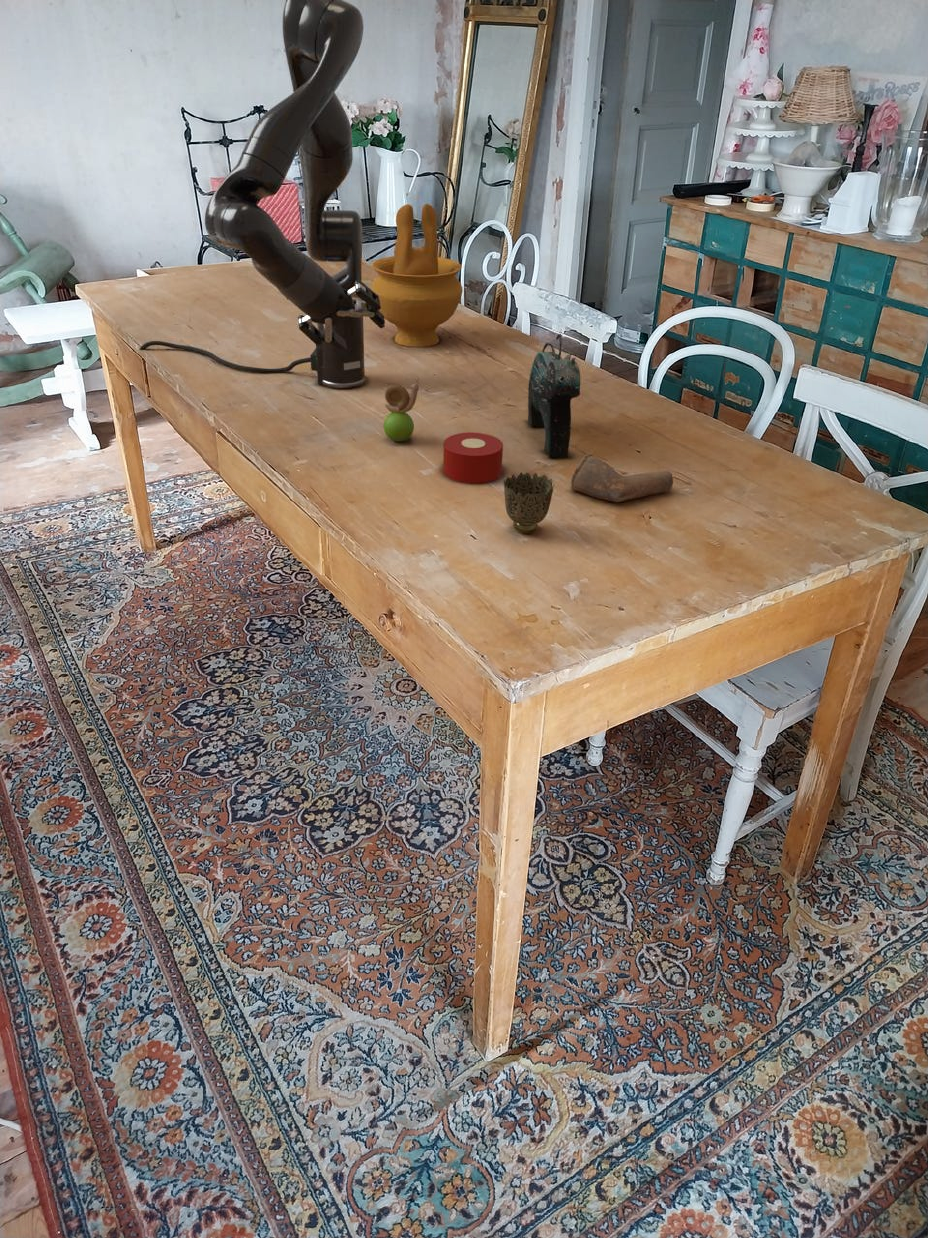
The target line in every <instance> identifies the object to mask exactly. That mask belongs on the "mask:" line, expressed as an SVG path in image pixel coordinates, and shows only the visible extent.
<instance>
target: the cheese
mask: <svg viewBox="0 0 928 1238" xmlns="http://www.w3.org/2000/svg"><path fill="white" fill-rule="evenodd" d="M503 452H504V444H503V441H502V440H501V439H499V437H496V436H494V435H491V434H488V433H483V432H469V431H468V432H459V433H455V434H452V435H450V436H448V437H446V438H445V439H444V441H443V454H442V455H443V457H442V458H443V460H442V462H443V463H442V473H443V474H444V475H445V477H447V478H449V479H451V480H453V481H456V482H460V483H465V484H485V483H491V482H493V481H495V480H497V479H499V478H500V477H501V475H502V471H503V469H502V468H503V454H504V453H503Z"/></svg>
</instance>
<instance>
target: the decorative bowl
mask: <svg viewBox="0 0 928 1238" xmlns="http://www.w3.org/2000/svg"><path fill="white" fill-rule="evenodd" d="M414 215H415V214H414V208H413V206H412V205H411V204H407V203H406V204H404V205H402V206H401V207H400V208H399V209H397V212H396V215H395V225H396V230H397V231H396V232H397V237H396V241H395V245H394V249H393V254H394V255H393V256H386V257H382V258H379V259H375V261H373V262H371V267H372V268H373V270H374V271H375V272H376V273H377V276H376V277H375V278H374V279H373V280H372V281H373V283H372V285H371V290H372V291H373V292H374V293H376V294H377V295H378V296H379V300H380V306H381V309H380V310H379V311H380V312H381V313H382V314H383V315H384V319H385V321H387V322H389V324H392V325H394V326H395V327H396V328H397V333H396V335H395V337H394V342H395V343H396V344H399V345H400V346H406V347H413V348H414V347H416V348H419V347H421V348H422V347H430V346H434V345H436V344H438V343H439V342H440V338H439V336H438V334H437V332H436V331H437V328H438V327H439V326H440V325H443V324H444V323H446V322H448V321H449V320H450V319H451V317H452V316H453V315H454V314H455V312H456V310H457V308H458V307H459V304H460V301H461V300H462V295H463V286H462V284H461V282H460V281H459V279H458V278H457V276H456V275H457V274H458V273H459V272H460V270H461V269H462V268H463V266H462V264H461V263H460V262H458V261H456V260H453V259H450V258H446V257H442V256H438V249H439V242H438V217H437V212H436V210H435V208H434V207H433V206H432V205H431V204H429V203H424V204H423V206H422V207H421V214H420V215H421V230H422V233H423V237H424V244H423V245H422V246H420V247H417V246H413V236H414V224H415V223H414V219H415V217H414Z"/></svg>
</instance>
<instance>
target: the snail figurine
mask: <svg viewBox="0 0 928 1238" xmlns="http://www.w3.org/2000/svg"><path fill="white" fill-rule="evenodd" d="M419 380H420V377H419V376H416V378H415V382H419ZM410 390H411V391H410V393H409V391H408V390H407V388H406V387H404V385H402V384H397V383H395V384H391V385H389V386H388V387H386V389H385V391H384V398H385V401H386V403H387V404H384V407H385V408H386V409H387V410H388V412H390V413H388V414H387V415H386V417H385V419H384V421H383V431H384V433H385V435H386V437H388V439H390V440H391V441H394V442H404V441H406V440H408V439H409V438H410V437H411V436H412V434H413V432H414V430H415V429H414V428H415V425H414V424H415V423H414V420H413V418H412V417H411V415H410V414H408V413H407V412H410V411H412V410H413V408H414V406H415V404H416V401H417V397H418V393H419V391H420V386H419V383H413V384H411V385H410Z"/></svg>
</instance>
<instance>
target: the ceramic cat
mask: <svg viewBox="0 0 928 1238" xmlns="http://www.w3.org/2000/svg"><path fill="white" fill-rule="evenodd" d="M555 338H556V340H558V339H559V350H558V353H556V350H555V348H554V346H553V344H552V343H551V342H546V343H544V346H543V348H542V351H539V352H537V354H536V355H535V357H534V359H533V362H532V366H531V368H530V369H531V370H530V374H529V380H528V387H527V391H528V392H527V421H528V425H529V426H530V427H531V428H544V435H545V436H544V452H545V453H546V454H547V456H548V458H550V459H559V458H568V456H569V448H570V441H571V435H572V433H571V432H572V431H571V429H572V428H571V426H572V409H571V407H572V406H571V405H572V404H571V402H572V400H573V399H574V398H578V397H579V396H580V395H581V371H580V367H579V364H578V362H577V361H576V357H573V358H571V356H572V352H570V353H568V354H567V355H566V356H565V357H564V358H562V355H561V354H562V346H563V339H562V334H561V333H558V334H557V336H556V337H555ZM548 346H549V347H550V348H551V351H546V349H547V347H548Z"/></svg>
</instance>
